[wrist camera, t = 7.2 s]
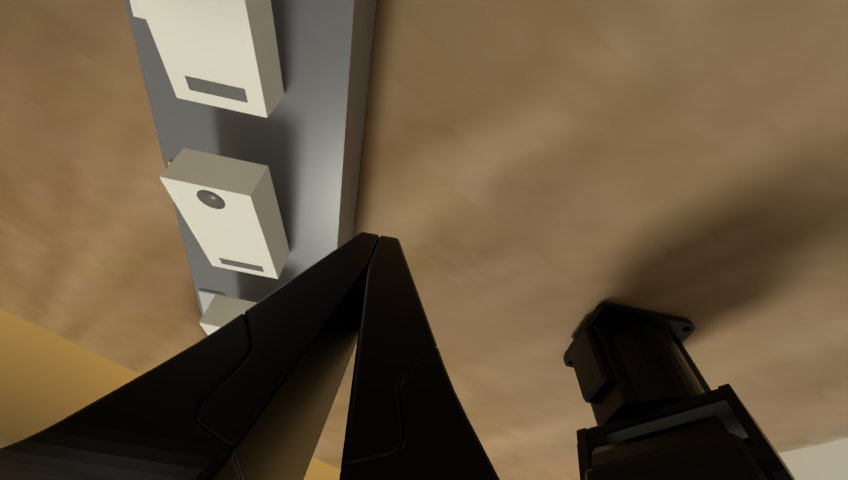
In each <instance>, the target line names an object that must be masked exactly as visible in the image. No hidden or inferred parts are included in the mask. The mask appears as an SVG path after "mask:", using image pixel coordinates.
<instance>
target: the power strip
mask: <svg viewBox="0 0 848 480" xmlns="http://www.w3.org/2000/svg"><path fill="white" fill-rule="evenodd" d="M125 3H126V7H127V11H128V15H129V19H130V24H131V28H132V32H133V36H134V40H135V44H136V48H137V52H138V57H139V61H140V65H141V69H142V73H143V77H144V81H145V85H146V90H147V94H148V98H149V102H150V106H151V110H152V114H153V118H154V123H155V127H156V131H157V135H158V139H159V143H160V147H161V151H162V156H163V160H164V164H165V168H167V167H168V166H169V165H170V163H171V162H172V161H173V160H174V159H175V158H176V156H177V155H178V154H179V153H180V152H181V151H182V149H183V148H187V149H192V150H196V151H201V152H205V153H210V154H215V155H219V156H224V157H229V158H233V159H238V160H242V161H247V162H252V163H256V164H261V165H266V166H268V167H269V171H270V175H271V179H272V183H273V187H274V191H275V195H276V199H277V203H278V207H279V211H280V215H281V219H282V223H283V227H284V231H285V235H286V239H287V243H288V247H289V251H290V254H289V256H288V258H287V261H286V263H285V265H284V267H283V270H282V272H281V274H280V276H279V278H278V279H275V278H270V277H265V276H260V275H255V274H250V273H245V272H240V271H235V270H230V269H225V268H220V267H216V266H212V264H211V263H210V261H209V259H208V258H207V256H206V254H205V253H204V251H203V249H202V248H201V246H200V244H199V242H198V241H197V239H196V237H195V236H194V234H193V232H192V231H191V229H190V227H189V226H188V224H187V222H186V221H185V219H184V217H183V216H182V214H181V212H180V211H179V209H178V207H177V206H176V204H175V202H174V205H175V209H176V213H177V218H178V222H179V226H180V230H181V234H182V238H183V242H184V246H185V251H186V255H187V259H188V263H189V267H190V271H191V275H192V279H193V284H194V288H195V292H196V296H197V300H198V304H199V308H200V312H201V317H203V315H204V313H205V312H206V310H207V308H208V306H209V305H210V303H211V301H212V300H213V298H214V296H215V295H216V294H217V295H222V296H227V297H232V298H237V299H242V300H247V301H252V302H257V303H258V302H259V301H261V300H262V299H264V298H265V297H267V296H268V295H270V294H271V293H273V292H274V291H275V290H277V289H278V288H280V287H281V286H283V285H284V284H286V283H287V282H289V281H290V280H292V279H293V278H295V277H296V276H298V275H299V274H300V273H302V272H303V271H305V270H306V269H308V268H309V267H311V266H312V265H314V264H315V263H317V262H318V261H320V260H321V259H322V258H324V257H325V256H327V255H328V254H330V253H331V252H333V251H334V250H336V249H337V248H339V247H340V246H342V245H343V244H344V243H346V242H347V241H349V240H350V239H352V238H353V232H354V223H355V213H356V203H357V193H358V183H359V173H360V163H361V153H362V143H363V133H364V123H365V113H366V103H367V93H368V83H369V73H370V63H371V53H372V43H373V33H374V23H375V13H376V3H377V0H271V6H272V13H273V20H274V27H275V34H276V41H277V48H278V55H279V62H280V69H281V76H282V83H283V90H284V97H283V98H282V99H281V101H280V102H279V103H278V105H277V106H276V107H275V108H274V110H273V111H272V112H271V114H270V115H269V116H268V118H265V117H261V116H256V115H252V114H247V113H243V112H238V111H234V110H229V109H225V108H220V107H216V106H211V105H207V104H202V103H198V102H193V101H189V100H184V99H180V98H177V97H176V94H175V92H174V89H173V87H172V84H171V82H170V79H169V76H168V74H167V71H166V69H165V66H164V64H163V61H162V59H161V56H160V54H159V51H158V48H157V46H156V43H155V41H154V38H153V36H152V33H151V31H150V28H149V25H148V23H147V20H146V18H145V15H144V13H143V10H142V8H141V5H140V3H139V0H125ZM205 333H206V332H205ZM207 336H208V335H207V333H206V337H207Z"/></svg>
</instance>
